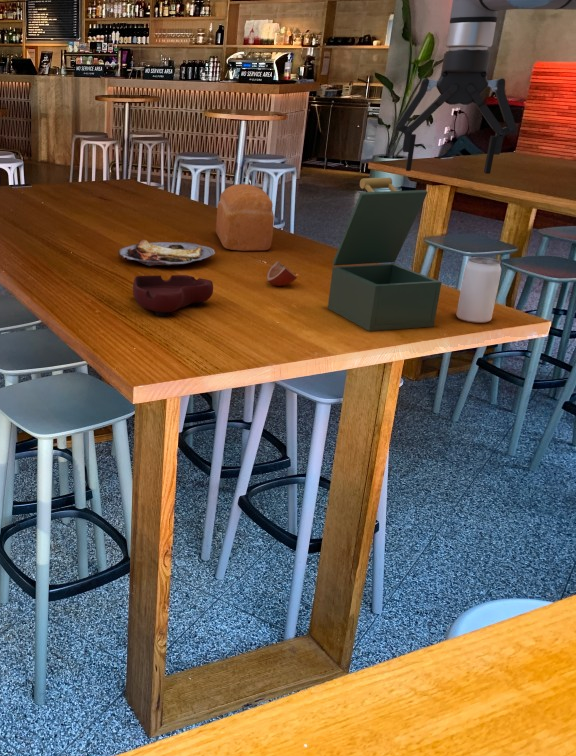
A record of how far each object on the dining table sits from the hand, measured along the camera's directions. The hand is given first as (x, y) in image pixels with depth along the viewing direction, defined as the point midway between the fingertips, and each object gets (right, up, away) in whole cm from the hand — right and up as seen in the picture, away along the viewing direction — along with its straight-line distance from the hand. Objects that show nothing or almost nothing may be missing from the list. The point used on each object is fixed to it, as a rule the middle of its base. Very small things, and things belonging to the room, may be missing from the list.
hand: (446, 171), depth 149 cm
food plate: (-45, -7, +61) cm, 76 cm away
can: (+10, -27, +11) cm, 31 cm away
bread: (-20, +1, +82) cm, 84 cm away
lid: (-9, -9, +9) cm, 16 cm away
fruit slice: (-22, -17, +36) cm, 45 cm away
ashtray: (-51, -23, +21) cm, 60 cm away
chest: (-8, -26, +12) cm, 30 cm away
